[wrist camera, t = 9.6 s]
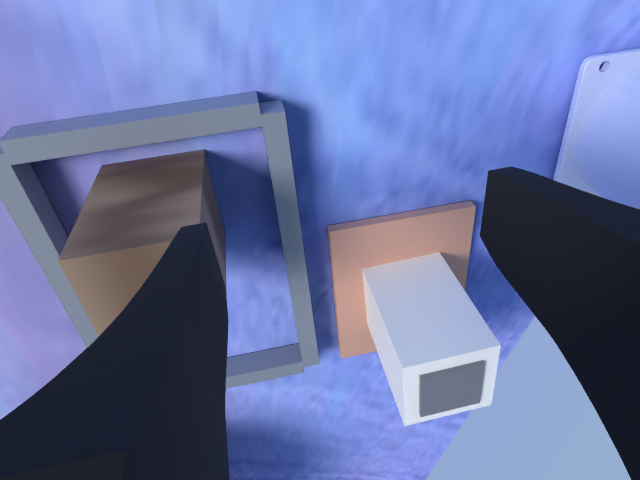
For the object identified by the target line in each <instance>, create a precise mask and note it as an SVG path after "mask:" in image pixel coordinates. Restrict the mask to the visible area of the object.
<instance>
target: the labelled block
mask: <svg viewBox="0 0 640 480" xmlns="http://www.w3.org/2000/svg"><path fill="white" fill-rule="evenodd" d="M362 273H363V283H364V293H365V304H366V314H367V325H368V327H369V330H370V333H371V336H372V338H373V341H374V344H375V346H376V349H377V352H378V355H379V357H380V360H381V363H382V366H383V368H384V371H385V374H386V377H387V379H388V382H389V385H390V387H391V390H392V393H393V396H394V398H395V401H396V404H397V407H398V409H399V412H400V415H401V418H402V420H403V423H404V426H407V425H411V424H415V423H419V422H423V421H427V420H431V419H436V418H440V417H444V416H448V415H452V414H456V413H460V412H464V411H468V410H472V409H476V408H480V407H484V406H488V405H491V403H492V397H493V391H494V384H495V378H496V372H497V365H498V359H499V353H500V346H501V345H500V343H499V342H498V340H497V339H496V337H495V336H494V334H493V333H492V331H491V330H490V328H489V327H488V325H487V324H486V322H485V321H484V319H483V318H482V316H481V315H480V313H479V312H478V310H477V308H476V307H475V305H474V304H473V302H472V301H471V299H470V298H469V296H468V295H467V293H466V292H465V290H464V289H463V287H462V286H461V284H460V283H459V281H458V280H457V278H456V277H455V275H454V274H453V272H452V271H451V269H450V267H449V266H448V264H447V263H446V261H445V260H444V258H443V257H442V255H441V254H440V252H438V253H433V254H429V255H424V256H419V257H415V258H410V259H406V260H401V261H397V262H392V263H387V264H383V265H378V266H374V267H369V268H365V269H362Z"/></svg>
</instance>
